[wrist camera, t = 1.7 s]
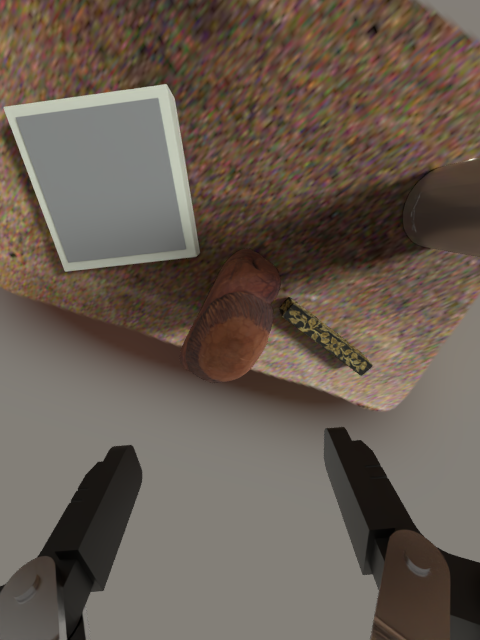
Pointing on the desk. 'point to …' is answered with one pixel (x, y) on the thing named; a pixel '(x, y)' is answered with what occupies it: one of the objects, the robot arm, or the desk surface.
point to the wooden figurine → (233, 319)
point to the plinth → (109, 176)
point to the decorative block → (324, 336)
